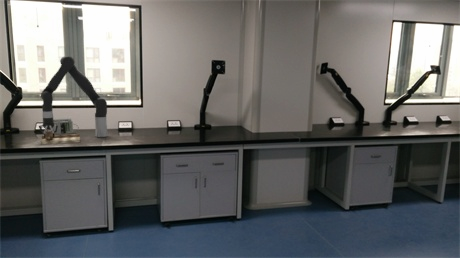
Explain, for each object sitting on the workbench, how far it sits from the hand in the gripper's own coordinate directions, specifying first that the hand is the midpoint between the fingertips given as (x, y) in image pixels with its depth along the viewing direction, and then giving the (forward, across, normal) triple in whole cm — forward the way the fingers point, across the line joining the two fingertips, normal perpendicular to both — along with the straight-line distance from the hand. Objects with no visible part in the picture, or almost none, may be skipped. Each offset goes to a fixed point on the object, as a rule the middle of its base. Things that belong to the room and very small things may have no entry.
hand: (49, 137), depth 290 cm
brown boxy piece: (+1, 0, +2) cm, 2 cm away
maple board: (+3, -8, +1) cm, 9 cm away
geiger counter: (+3, -10, -31) cm, 32 cm away
